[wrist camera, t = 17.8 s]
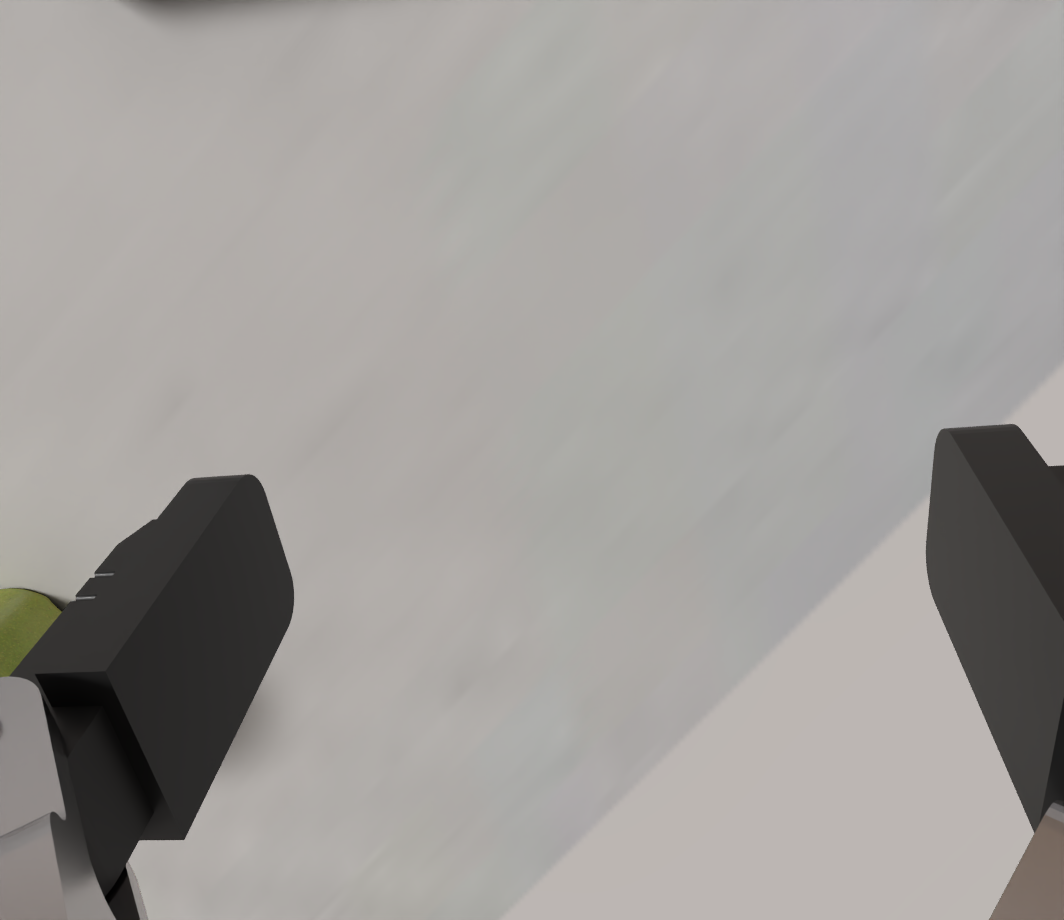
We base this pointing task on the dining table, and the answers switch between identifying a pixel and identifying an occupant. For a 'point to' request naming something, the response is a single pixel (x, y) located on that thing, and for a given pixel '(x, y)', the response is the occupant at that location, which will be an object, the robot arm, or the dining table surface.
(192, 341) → the dining table surface
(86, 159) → the dining table surface
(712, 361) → the dining table surface
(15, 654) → the plant pot
